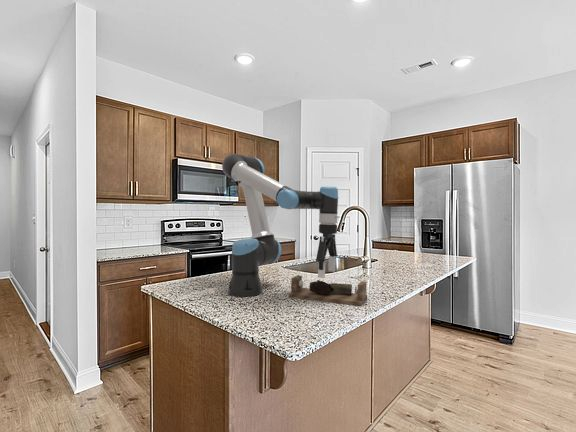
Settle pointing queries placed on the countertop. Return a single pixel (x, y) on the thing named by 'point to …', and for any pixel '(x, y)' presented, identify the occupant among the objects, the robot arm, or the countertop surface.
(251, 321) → the countertop surface
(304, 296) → the shaft stand
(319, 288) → the lumpy brown club
